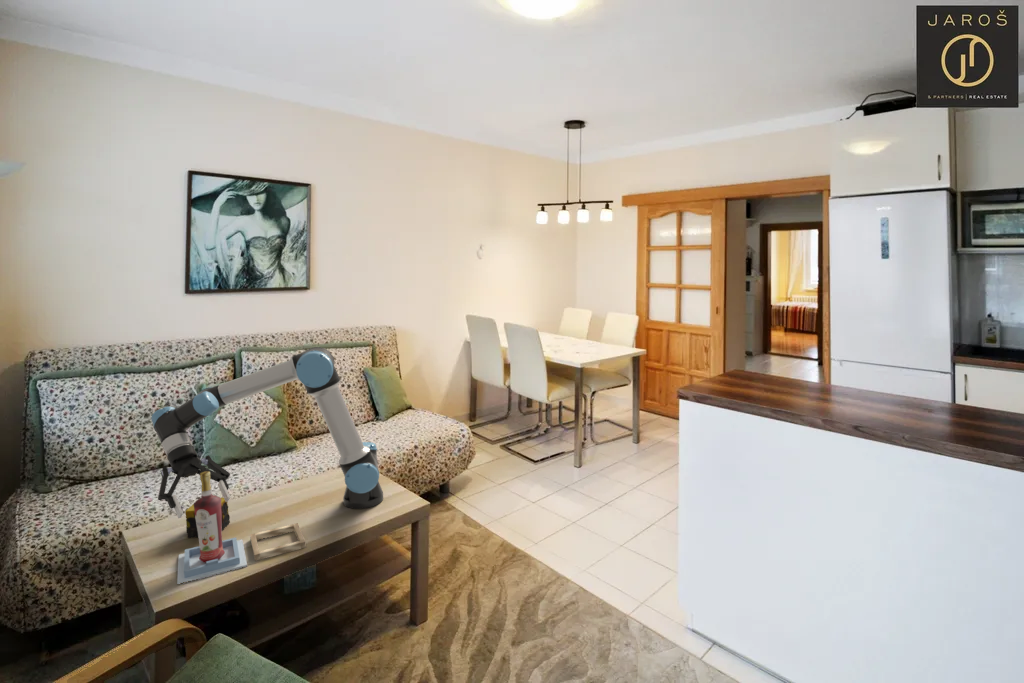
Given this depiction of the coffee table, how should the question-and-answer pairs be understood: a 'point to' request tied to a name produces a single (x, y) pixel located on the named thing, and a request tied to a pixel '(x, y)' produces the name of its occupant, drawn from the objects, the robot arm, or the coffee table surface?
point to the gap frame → (280, 549)
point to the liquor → (209, 521)
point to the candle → (191, 519)
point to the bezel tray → (211, 561)
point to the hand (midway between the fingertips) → (205, 507)
